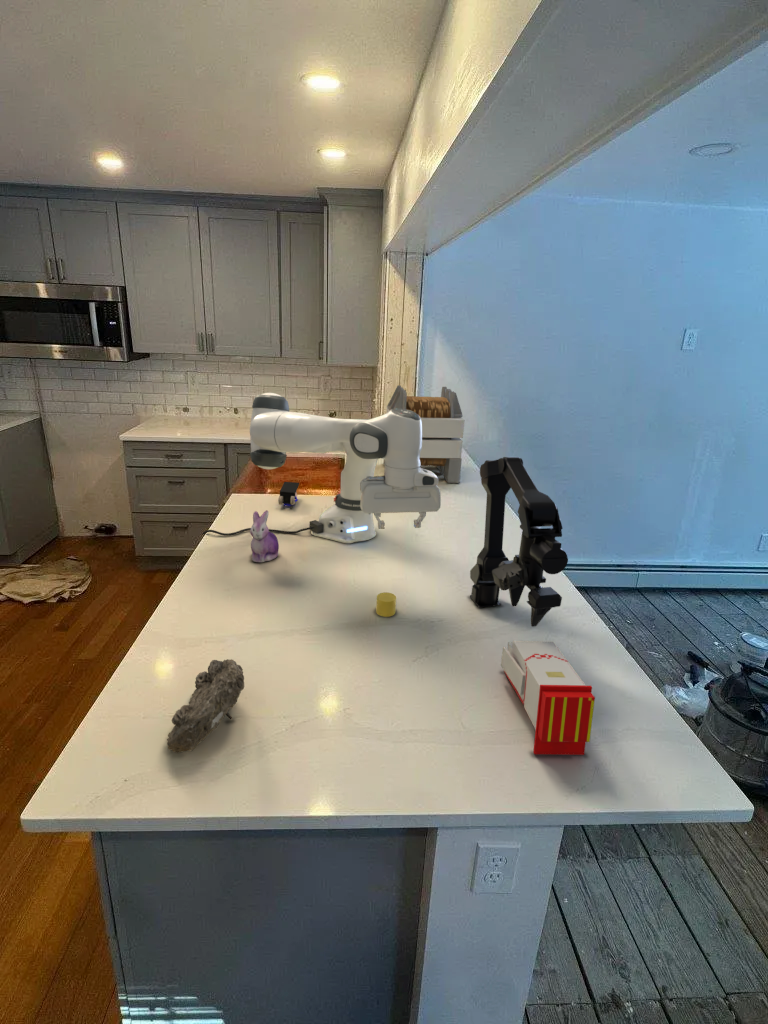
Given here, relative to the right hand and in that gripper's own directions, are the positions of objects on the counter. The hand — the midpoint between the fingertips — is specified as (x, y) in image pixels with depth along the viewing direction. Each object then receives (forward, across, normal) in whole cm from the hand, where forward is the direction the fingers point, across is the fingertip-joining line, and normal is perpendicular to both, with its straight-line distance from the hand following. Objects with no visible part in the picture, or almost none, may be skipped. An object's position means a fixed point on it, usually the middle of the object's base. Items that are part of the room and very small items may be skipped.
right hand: (523, 615), depth 131 cm
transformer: (+9, -148, +26) cm, 151 cm away
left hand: (-13, -27, -23) cm, 37 cm away
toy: (+9, +19, -6) cm, 22 cm away
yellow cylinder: (+9, -23, -26) cm, 36 cm away
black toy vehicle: (+9, -111, -41) cm, 119 cm away
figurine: (+9, -63, -54) cm, 84 cm away
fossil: (+9, +9, -70) cm, 71 cm away
